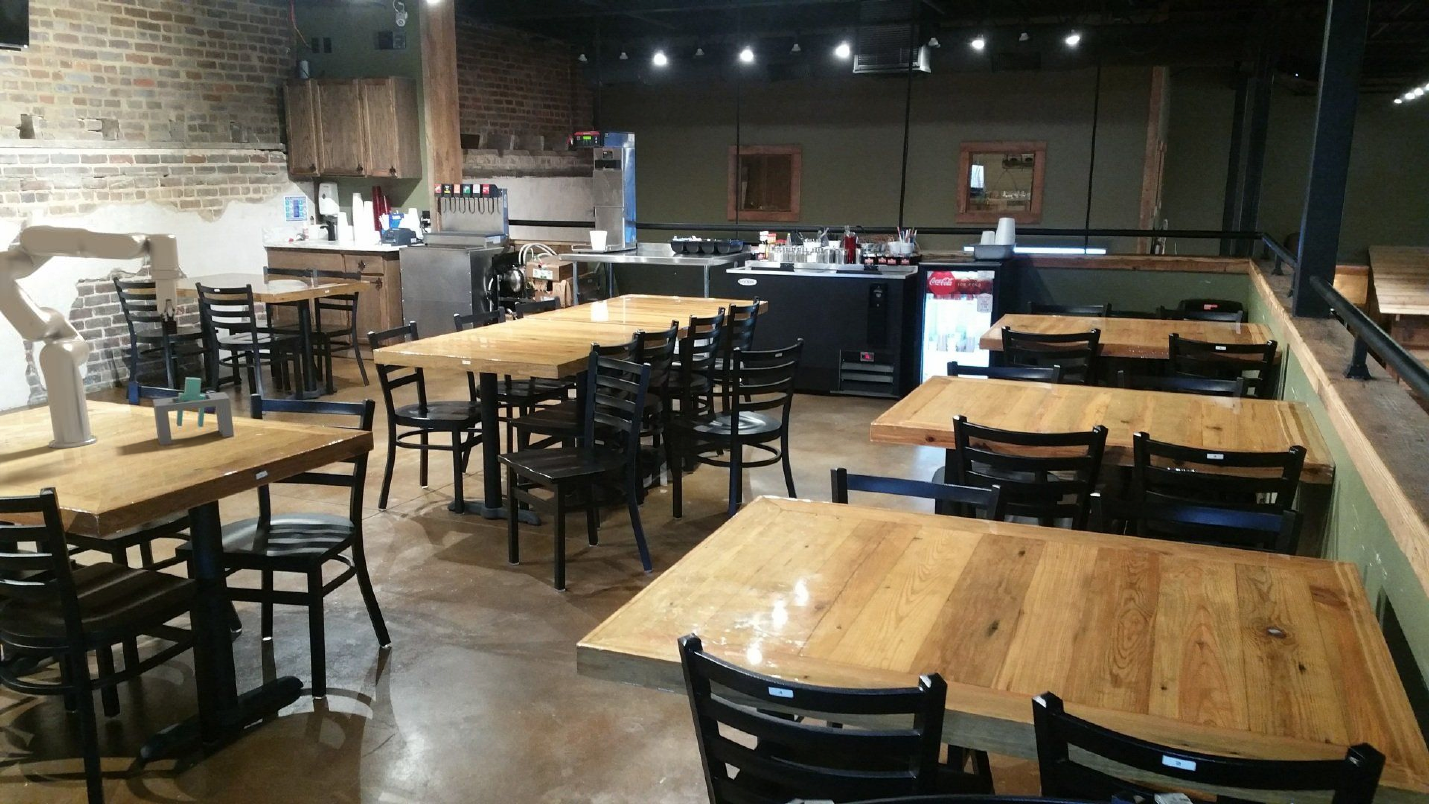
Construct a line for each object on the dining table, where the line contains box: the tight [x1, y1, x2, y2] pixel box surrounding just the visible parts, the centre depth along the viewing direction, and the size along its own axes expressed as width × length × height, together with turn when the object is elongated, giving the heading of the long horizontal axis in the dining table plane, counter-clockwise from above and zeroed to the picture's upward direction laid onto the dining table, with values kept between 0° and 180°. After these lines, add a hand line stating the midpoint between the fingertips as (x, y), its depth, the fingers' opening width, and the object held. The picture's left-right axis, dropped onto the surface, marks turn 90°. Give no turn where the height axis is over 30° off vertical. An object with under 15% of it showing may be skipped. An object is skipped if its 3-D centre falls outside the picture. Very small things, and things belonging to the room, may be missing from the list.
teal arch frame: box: [175, 376, 206, 428], centre depth 313 cm, size 4×7×14 cm, turn 121°
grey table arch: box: [152, 391, 235, 446], centre depth 314 cm, size 12×20×12 cm, turn 122°
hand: (170, 332), depth 310 cm, fingers open, 9 cm apart
